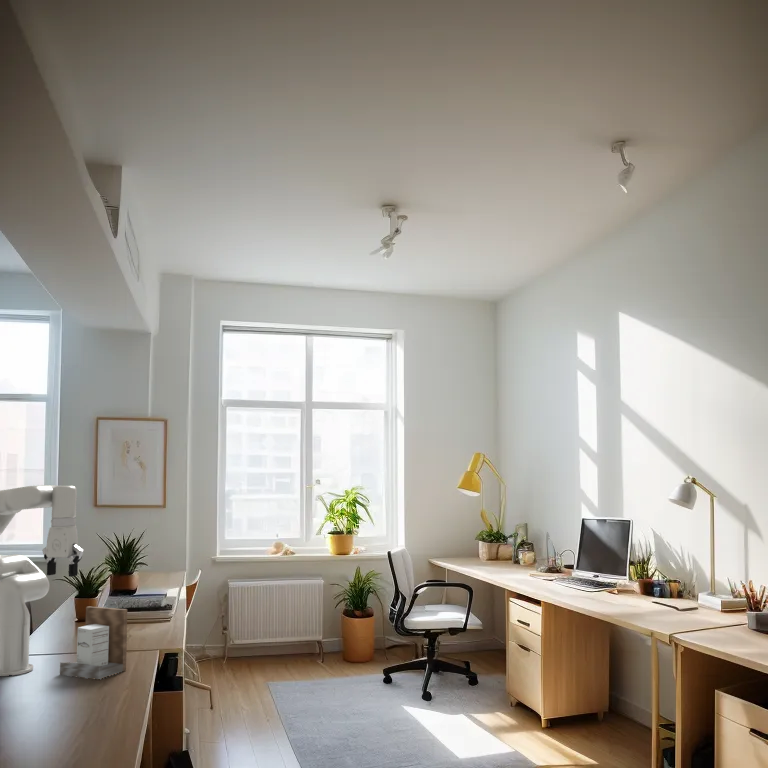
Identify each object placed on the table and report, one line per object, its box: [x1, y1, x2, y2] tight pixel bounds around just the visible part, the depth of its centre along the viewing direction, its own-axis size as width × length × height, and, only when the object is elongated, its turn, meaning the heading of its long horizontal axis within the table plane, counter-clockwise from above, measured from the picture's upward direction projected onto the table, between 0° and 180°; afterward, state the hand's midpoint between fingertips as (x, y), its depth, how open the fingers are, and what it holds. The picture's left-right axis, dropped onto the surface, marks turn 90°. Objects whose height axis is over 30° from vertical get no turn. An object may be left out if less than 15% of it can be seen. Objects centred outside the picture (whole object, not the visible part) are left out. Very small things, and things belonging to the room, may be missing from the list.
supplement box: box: [76, 624, 109, 666], centre depth 252 cm, size 7×7×13 cm
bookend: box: [59, 605, 128, 680], centre depth 253 cm, size 17×12×20 cm
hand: (62, 575), depth 251 cm, fingers open, 9 cm apart
